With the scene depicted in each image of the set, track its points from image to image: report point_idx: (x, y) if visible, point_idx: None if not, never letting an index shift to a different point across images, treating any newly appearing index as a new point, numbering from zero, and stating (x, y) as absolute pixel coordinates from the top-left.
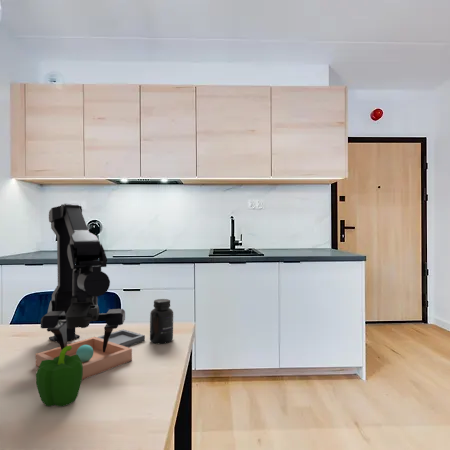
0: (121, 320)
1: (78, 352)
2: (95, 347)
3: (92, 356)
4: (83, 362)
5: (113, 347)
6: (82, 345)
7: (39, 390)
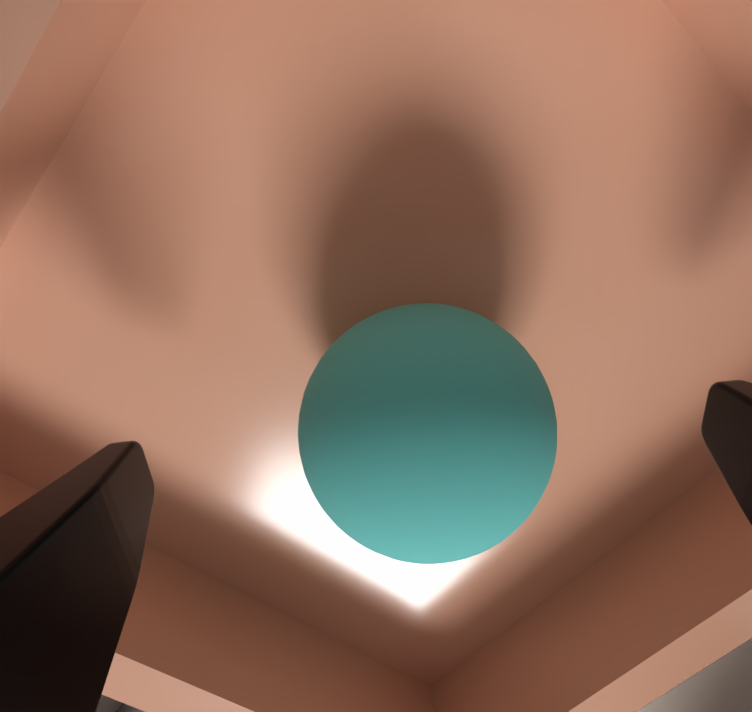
0: None
1: (510, 364)
2: (403, 682)
3: None
4: None
5: None
6: (489, 517)
7: None
